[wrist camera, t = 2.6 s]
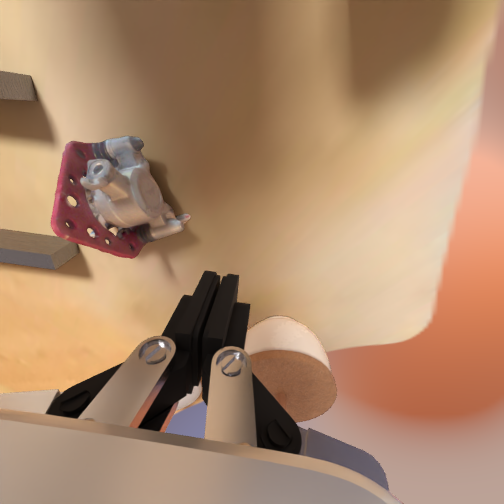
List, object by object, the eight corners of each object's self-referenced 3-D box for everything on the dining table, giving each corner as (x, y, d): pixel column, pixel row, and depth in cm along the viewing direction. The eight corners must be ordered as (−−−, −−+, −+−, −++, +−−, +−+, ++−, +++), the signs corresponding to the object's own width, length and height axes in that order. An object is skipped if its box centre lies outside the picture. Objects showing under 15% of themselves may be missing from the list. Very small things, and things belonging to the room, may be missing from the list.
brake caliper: (33, 159, 24) (-10, 150, 14) (142, 129, 28) (167, 106, 18) (97, 256, 29) (98, 299, 19) (182, 219, 33) (218, 239, 23)
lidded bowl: (233, 300, 34) (217, 373, 24) (327, 301, 33) (349, 379, 23) (240, 360, 40) (230, 437, 30) (319, 363, 39) (334, 444, 29)
